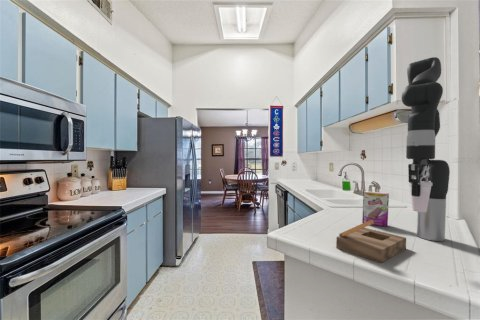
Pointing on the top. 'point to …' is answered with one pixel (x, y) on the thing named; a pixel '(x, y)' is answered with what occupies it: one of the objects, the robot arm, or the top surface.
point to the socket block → (372, 244)
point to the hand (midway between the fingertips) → (419, 195)
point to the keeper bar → (356, 228)
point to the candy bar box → (375, 208)
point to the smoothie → (421, 197)
